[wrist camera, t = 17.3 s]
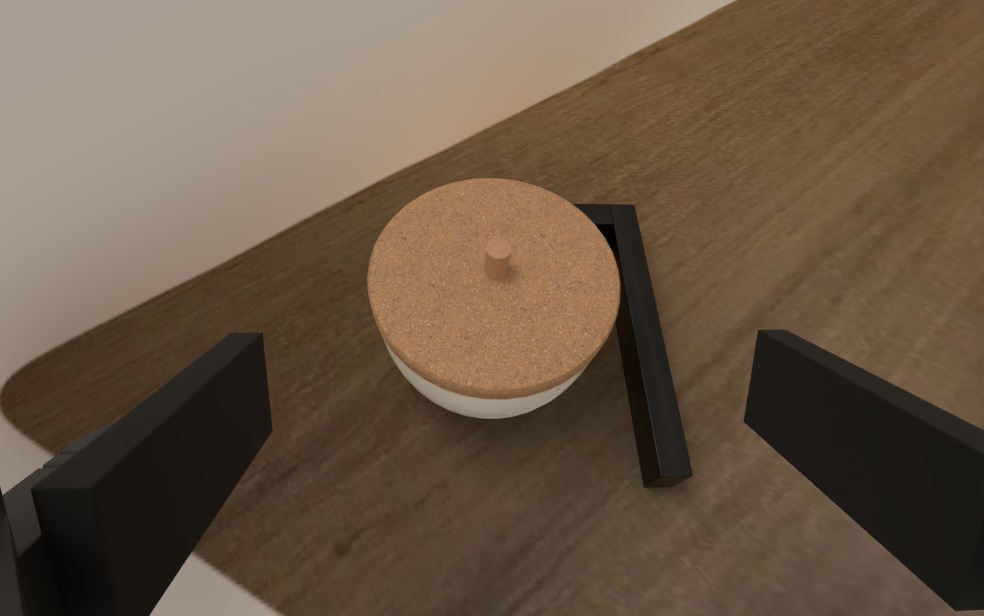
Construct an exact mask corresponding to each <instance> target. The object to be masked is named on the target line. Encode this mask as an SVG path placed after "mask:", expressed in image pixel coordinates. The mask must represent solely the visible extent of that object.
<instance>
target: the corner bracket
mask: <svg viewBox="0 0 984 616" xmlns="http://www.w3.org/2000/svg"><path fill="white" fill-rule="evenodd" d="M573 205H574V206H575V207H576V208H578V209H579V210H580V211H582V212H583V213H584V214H585V215H586V216H587V217H588V218H589V219H590V220H591V221H592V222H593V223H594V224H595V225H596V227H597V228H598V229H599V231H600V232H601V234H602V235H603V236H604V238H605V239H606V241H607V243H608V245H609V247H610V249H611V250H612V252H613V255H614V258H615V261H616V264H617V267H618V271H619V278H620V284H621V290H620V304H619V309H618V313H617V318H616V326H617V332H618V338H619V344H620V349H621V355H622V361H623V367H624V373H625V379H626V385H627V391H628V396H629V402H630V408H631V414H632V420H633V426H634V432H635V438H636V444H637V449H638V455H639V461H640V467H641V473H642V479H643V485H644V487H645V488H648V487H673V486H675V485H677V484H679V483H681V482H682V481H684V480H686V479H688V478H690V477H691V476H693V474H692V470H691V465H690V460H689V456H688V451H687V447H686V442H685V437H684V433H683V428H682V423H681V419H680V414H679V410H678V405H677V400H676V396H675V391H674V386H673V382H672V377H671V373H670V368H669V363H668V359H667V354H666V349H665V345H664V340H663V336H662V331H661V326H660V322H659V317H658V312H657V308H656V303H655V299H654V294H653V289H652V285H651V280H650V275H649V271H648V266H647V262H646V257H645V252H644V248H643V243H642V238H641V234H640V229H639V225H638V220H637V215H636V211H635V206H634V205H615V204H611V205H609V204H573Z"/></svg>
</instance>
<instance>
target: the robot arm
mask: <svg viewBox="0 0 984 616" xmlns="http://www.w3.org/2000/svg"><path fill="white" fill-rule="evenodd" d="M744 422H745V423H746V424H747V425H748V426H749V427H750V428H751V429H753V430H754V431H755V432H756V433H757V434H758V435H759V436H760V437H762V438H763V439H764V440H765V441H766V442H767V443H768V444H769V445H770V446H772V447H773V448H774V449H775V450H776V451H777V452H778V453H779V454H781V455H782V456H783V457H784V458H785V459H786V460H787V461H788V462H789V463H791V464H792V465H793V466H794V467H795V468H796V469H797V470H798V471H800V472H801V473H802V474H803V475H804V476H805V477H806V478H807V479H808V480H810V481H811V482H812V483H813V484H814V485H815V486H816V487H817V488H819V489H820V490H821V491H822V492H823V493H824V494H825V495H826V496H828V497H829V498H830V499H831V500H832V501H833V502H834V503H835V504H836V505H838V506H839V507H840V508H841V509H842V510H843V511H844V512H845V513H847V514H848V515H849V516H850V517H851V518H852V519H853V520H854V521H855V522H857V523H858V524H859V525H860V526H861V527H862V528H863V529H864V530H866V531H867V532H868V533H869V534H870V535H871V536H872V537H873V538H874V539H876V540H877V541H878V542H879V543H880V544H881V545H882V546H883V547H885V548H886V549H887V550H888V551H889V552H890V553H891V554H892V555H893V556H895V557H896V558H897V559H898V560H899V561H900V562H901V563H902V564H904V565H905V566H906V567H907V568H908V569H909V570H910V571H911V572H913V573H914V574H915V575H916V576H917V577H918V578H919V579H920V580H921V581H923V582H924V583H925V584H926V585H927V586H928V587H929V588H930V589H932V590H933V591H934V592H935V593H936V594H937V595H938V596H939V597H940V598H942V599H943V600H944V601H945V602H946V603H947V604H948V605H949V606H951V607H952V608H953V609H954V610H955V611H963V610H984V430H982V429H980V428H978V427H976V426H974V425H972V424H970V423H968V422H966V421H964V420H962V419H960V418H958V417H956V416H954V415H952V414H951V413H949V412H947V411H945V410H943V409H941V408H939V407H937V406H935V405H933V404H931V403H929V402H927V401H925V400H923V399H921V398H919V397H917V396H915V395H913V394H911V393H909V392H907V391H905V390H903V389H901V388H899V387H897V386H895V385H893V384H891V383H889V382H887V381H885V380H883V379H881V378H879V377H878V376H876V375H874V374H872V373H870V372H868V371H866V370H864V369H862V368H860V367H858V366H856V365H854V364H852V363H850V362H848V361H846V360H844V359H842V358H840V357H838V356H836V355H834V354H832V353H830V352H828V351H826V350H824V349H822V348H820V347H818V346H816V345H814V344H812V343H810V342H808V341H806V340H804V339H803V338H801V337H799V336H797V335H795V334H793V333H791V332H789V331H787V330H758V335H757V341H756V347H755V354H754V360H753V366H752V373H751V379H750V385H749V391H748V398H747V404H746V410H745V417H744ZM272 431H273V430H272V421H271V411H270V401H269V391H268V382H267V372H266V362H265V352H264V343H263V333H230V334H229V335H228V336H227V337H225V338H224V339H223V340H221V341H220V342H219V343H218V344H216V345H215V346H214V347H212V348H211V349H210V350H209V351H207V352H206V353H205V354H203V355H202V356H201V357H200V358H198V359H197V360H196V361H194V362H193V363H192V364H191V365H189V366H188V367H187V368H185V369H184V370H183V371H182V372H180V373H179V374H178V375H176V376H175V377H174V378H173V379H171V380H170V381H169V382H167V383H166V384H165V385H164V386H162V387H161V388H160V389H158V390H157V391H156V392H155V393H153V394H152V395H151V396H149V397H148V398H147V399H146V400H144V401H143V402H142V403H140V404H139V405H138V406H137V407H135V408H134V409H133V410H131V411H130V412H129V413H128V414H126V415H125V416H124V417H122V418H121V419H120V420H119V421H117V422H116V423H109V424H107V425H105V426H103V427H101V428H99V429H97V430H94V431H92V432H90V433H88V434H86V435H84V436H82V437H80V438H79V439H78V440H76V441H75V442H74V443H72V444H71V445H70V446H68V447H67V448H66V449H64V450H63V451H62V452H61V455H56V456H55V457H53V458H52V459H51V460H49V461H48V462H47V463H45V464H44V465H43V468H42V469H38V470H36V471H35V472H33V473H32V474H31V475H29V476H28V477H27V478H25V479H24V480H23V481H21V482H20V483H18V484H17V485H16V486H15V487H13V488H12V489H11V490H9V491H8V492H7V493H6V494H4V495H2V492H1V489H0V616H149V615H150V614H151V612H152V610H153V609H154V608H155V606H156V605H157V603H158V601H159V600H160V599H161V597H162V596H163V594H164V593H165V591H166V589H167V588H168V586H169V585H170V584H171V582H172V581H173V579H174V577H175V576H176V575H177V573H178V571H179V570H180V568H181V567H182V566H183V564H184V563H185V561H186V560H187V558H188V557H189V555H190V554H191V552H192V551H193V549H194V548H195V546H196V545H197V543H198V542H199V540H200V539H201V537H202V536H203V534H204V533H205V531H206V530H207V528H208V527H209V525H210V524H211V522H212V521H213V519H214V518H215V516H216V515H217V513H218V512H219V510H220V509H221V507H222V506H223V504H224V503H225V501H226V500H227V498H228V497H229V495H230V494H231V492H232V491H233V489H234V488H235V486H236V485H237V483H238V482H239V480H240V479H241V477H242V476H243V474H244V473H245V471H246V470H247V468H248V467H249V465H250V464H251V462H252V461H253V459H254V458H255V456H256V455H257V453H258V452H259V450H260V449H261V447H262V446H263V444H264V443H265V441H266V440H267V438H268V437H269V435H270V434H271V432H272Z"/></svg>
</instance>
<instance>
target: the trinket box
mask: <svg viewBox="0 0 984 616" xmlns="http://www.w3.org/2000/svg"><path fill="white" fill-rule="evenodd" d="M367 283H368V296H369V301H370V305H371V309H372V313H373V316H374V320H375V322H376V324H377V326H378V328H379V330H380V333H381V335H382V337H383V340H384V342H385V344H386V347H387V349H388V351H389V353H390V355H391V357H392V359H393V360H394V362H395V364H396V365H397V367H398V368H399V369H400V371H401V372H402V374H403V375H404V377H405V378H406V379H407V380H408V381H409V382H410V383H411V384H412V385H413V386H414V387H415V388H416V389H417V390H418V391H419V392H420V393H421V394H423V395H424V396H425V397H427V398H428V399H429V400H431V401H432V402H434V403H435V404H437V405H439V406H441V407H443V408H445V409H447V410H449V411H452V412H455V413H458V414H461V415H464V416H470V417H476V418H485V419H499V418H506V417H514V416H517V415H521V414H524V413H527V412H530V411H532V410H534V409H536V408H538V407H541V406H543V405H545V404H546V403H548V402H550V401H552V400H553V399H554V398H556V397H557V396H559V395H560V394H561V393H563V392H564V391H565V390H566V389H567V388H568V387H569V386H570V385H571V384H572V383H573V382H574V381H575V380H576V379H577V378H578V377H579V376H580V375H581V374H582V372H583V371H584V369H585V368H586V367H587V365H588V364H589V362H590V361H591V360H592V359H593V358H594V357H595V356H596V354H597V353H598V352H599V350H600V349H601V347H602V346H603V344H604V343H605V341H606V340H607V338H608V336H609V334H610V332H611V329H612V327H613V325H614V323H615V320H616V318H617V313H618V309H619V304H620V290H621V284H620V278H619V271H618V267H617V264H616V261H615V258H614V255H613V252H612V250H611V249H610V247H609V245H608V243H607V241H606V239H605V238H604V236H603V235H602V234H601V232H600V231H599V229H598V228H597V227H596V225H595V224H594V223H593V222H592V221H591V220H590V219H589V218H588V217H587V216H586V215H585V214H584V213H583V212H582V211H580V210H579V209H578V208H576V207H575V206H574V205H573V204H571V203H570V202H569V201H567V200H565V199H563V198H561V197H560V196H558V195H556V194H554V193H552V192H550V191H547V190H545V189H543V188H541V187H538V186H535V185H531V184H527V183H524V182H519V181H514V180H508V179H494V178H483V179H468V180H464V181H459V182H454V183H450V184H447V185H444V186H441V187H438V188H435V189H433V190H431V191H429V192H427V193H425V194H423V195H421V196H420V197H418V198H417V199H415V200H413V201H412V202H410V203H409V204H407V205H406V206H405V207H404V208H403V209H402V210H401V211H399V212H398V213H397V214H396V215H395V216H394V217H393V218H392V219H391V221H390V222H389V223H388V224H387V226H386V227H385V228H384V229H383V231H382V233H381V234H380V236H379V238H378V240H377V242H376V244H375V246H374V249H373V252H372V255H371V258H370V261H369V268H368V276H367Z"/></svg>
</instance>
